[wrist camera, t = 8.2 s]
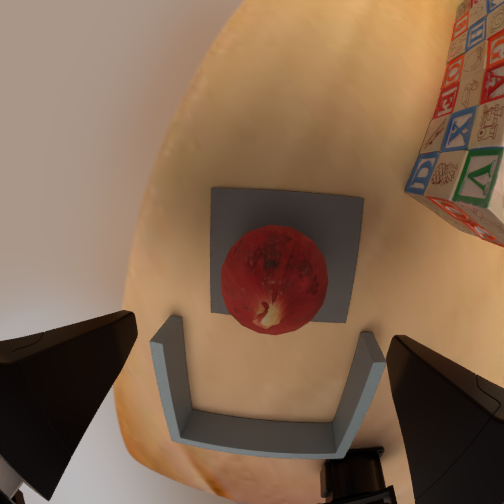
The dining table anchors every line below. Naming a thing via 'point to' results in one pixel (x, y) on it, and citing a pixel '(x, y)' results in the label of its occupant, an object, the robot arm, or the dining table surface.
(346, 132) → the dining table surface
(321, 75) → the dining table surface
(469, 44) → the stack of blocks
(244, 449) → the u-shaped frame
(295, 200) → the mat
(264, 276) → the onion
